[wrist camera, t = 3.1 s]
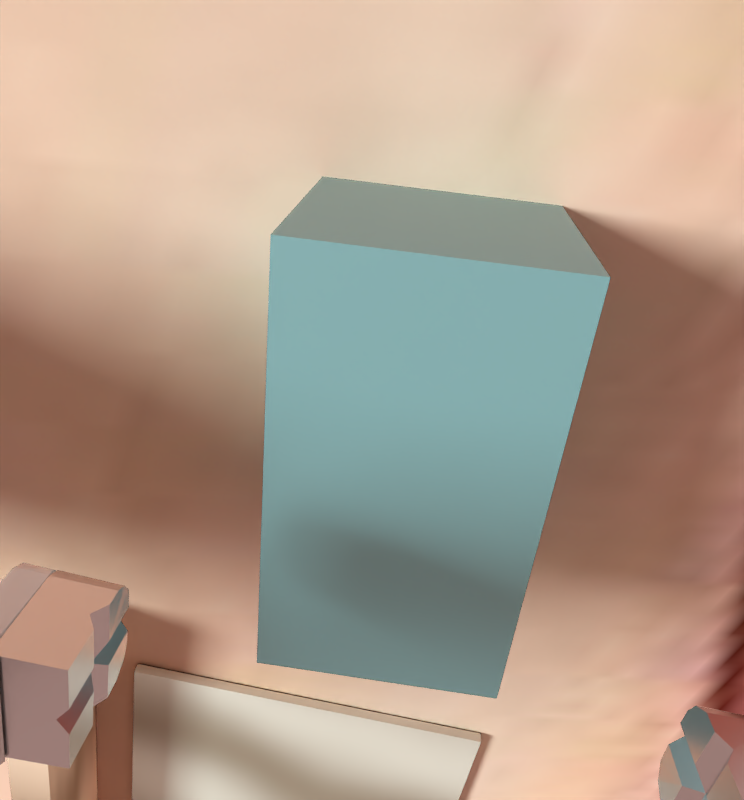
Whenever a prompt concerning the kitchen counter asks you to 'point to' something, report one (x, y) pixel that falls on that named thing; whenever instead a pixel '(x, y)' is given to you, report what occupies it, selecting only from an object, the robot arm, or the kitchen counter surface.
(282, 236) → the teal block
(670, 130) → the kitchen counter surface
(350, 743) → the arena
